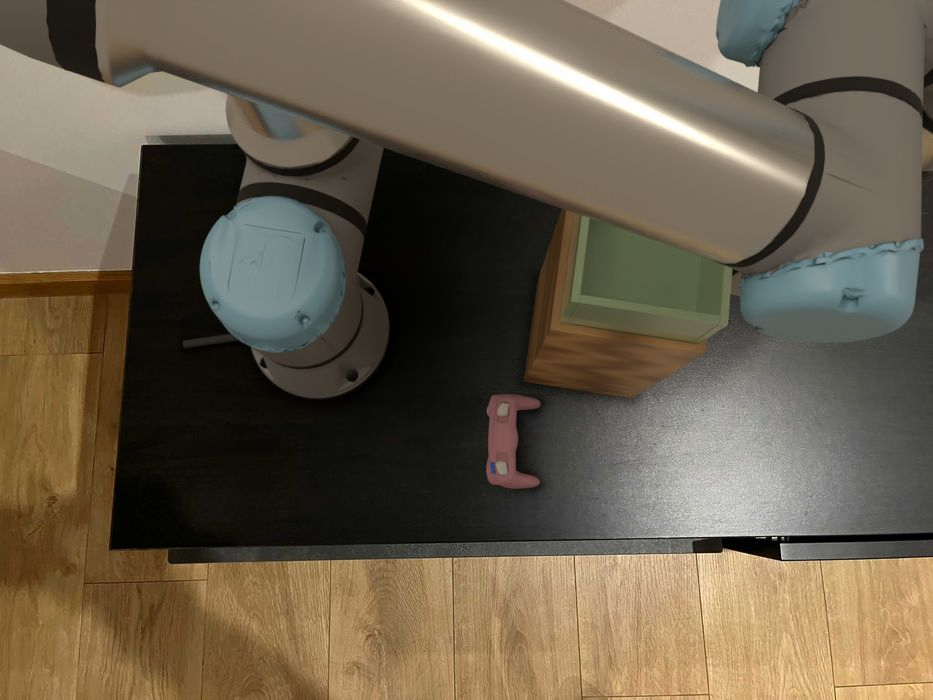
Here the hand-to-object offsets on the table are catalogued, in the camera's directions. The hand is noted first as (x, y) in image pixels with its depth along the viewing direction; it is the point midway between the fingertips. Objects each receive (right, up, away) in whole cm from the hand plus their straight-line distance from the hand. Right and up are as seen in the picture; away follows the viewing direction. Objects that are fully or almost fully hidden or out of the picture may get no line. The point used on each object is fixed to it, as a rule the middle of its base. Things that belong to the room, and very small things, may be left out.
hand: (761, 246), depth 68 cm
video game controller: (-24, -20, +7) cm, 32 cm away
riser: (-16, -9, +9) cm, 20 cm away
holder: (-16, -4, -14) cm, 21 cm away
